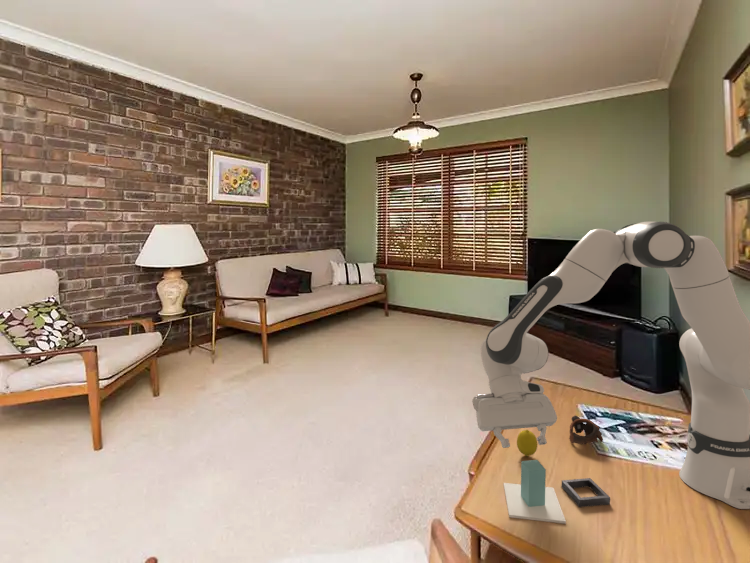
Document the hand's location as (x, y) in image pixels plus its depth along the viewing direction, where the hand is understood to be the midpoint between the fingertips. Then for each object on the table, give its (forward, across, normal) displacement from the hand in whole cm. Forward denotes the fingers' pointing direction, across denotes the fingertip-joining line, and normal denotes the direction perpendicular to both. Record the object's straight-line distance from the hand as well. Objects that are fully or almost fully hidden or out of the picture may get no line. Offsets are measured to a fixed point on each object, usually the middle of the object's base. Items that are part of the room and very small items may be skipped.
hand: (524, 445), depth 99 cm
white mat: (+12, 0, +5) cm, 13 cm away
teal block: (+11, 0, +5) cm, 12 cm away
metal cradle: (+11, +14, +6) cm, 19 cm away
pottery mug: (-6, +29, +24) cm, 38 cm away
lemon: (-2, +8, +19) cm, 21 cm away
